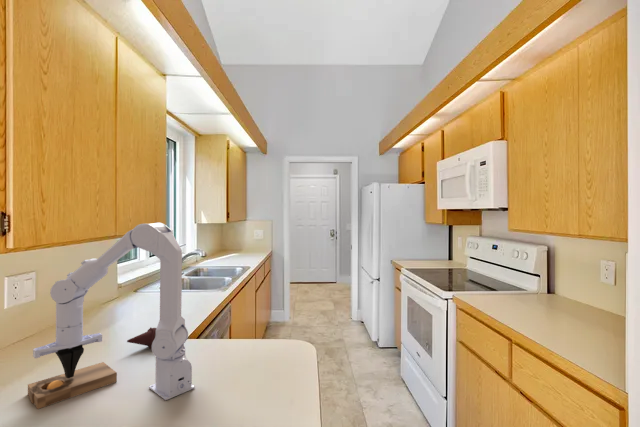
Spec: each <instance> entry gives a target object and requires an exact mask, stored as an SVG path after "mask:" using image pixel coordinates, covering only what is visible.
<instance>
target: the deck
mask: <svg viewBox="0 0 640 427" xmlns="http://www.w3.org/2000/svg"><path fill="white" fill-rule="evenodd" d="M117 373H118V372H117V371H116V370H114V368H111V367H110V366H109V365H108V364H107V363H105V362H104V361H101V362H99V363H95V364H92V365H89V366H85V367H82V368H77V369H75V372H74V376H73V377H70V378H66V376H65V373H62V374H58V375H55V376H51V377H48V378H45V379H42V380H38V381H36V382H35V381H34V382H32V383H28V384H27V396H29V402H31V404H32V405H34V406H35V408H36V409H37V410H39V409H43V408H45V407H48V406H51V405H53V404H56V403H57V404H58V403H60V402H62V401H65V400H68V399H71V398H73V397H74V398H75V397H76V396H77V397H78V396H79V395H82V394H85V393H88V392H91V391H94V390H98V389H99V388H102V387H105V386H108V385H111V384H115V383H116V382H117V381H118V377H117V376H118V374H117ZM56 380H59V381H62V382H63V384H62V385H61V386H60V387H57V388H54V389H49V390H47V387H48V385H49V384H50V383H51V382H53V381H56Z"/></svg>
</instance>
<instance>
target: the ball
mask: <svg viewBox="0 0 640 427" xmlns="http://www.w3.org/2000/svg"><path fill="white" fill-rule="evenodd" d="M62 384H63V382H62V381H59V380H56V381H53V382H51V383H50V384H49V385H48V387H47V390H49V389H54V388H57V387H60V386H61V385H62Z"/></svg>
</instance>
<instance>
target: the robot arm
mask: <svg viewBox="0 0 640 427" xmlns="http://www.w3.org/2000/svg"><path fill="white" fill-rule="evenodd" d="M173 231H174V230H173V229H171V228H170V227H169V226H167V225H166V224H165V223H162V222H157V221H156V222H154V223H153V222H152V223H140V224H136V226H135V227H134V228H133V229H130V230H128V231H127V232H125V234H124V235H123V236H122V237H121V238H120V239H118V241H116V242H115V243H114V244H113V245H112V246H111V247H110V248H108V249H107V250H106V251H105V252H104V253H102V254H101V255H100V256H99V257H98V258H95V257H93V258H89V259H84V260H82V262H81V263H80V264H81V266H79V267H78V268H77V269H75V270H74V271H72V272H69V273H67V275H66V276H67V277H66V278H65V279H60V280H57V281H55V283H54V284H53V285H52V286H51V288H50V294H49V295H50V297H51V299H52V300H53V301H54V302H55V341H54V342H51V343H47V344H45V345H42V346H39V347H35V348H33V349H32V357H33V358H34V359H39V358H41V357H43V356H47V355H50V354H54V353H55V355H56V356H57V358H58V359H59V361H60V363H61V365H62V368H63V372H64V374H65V376H66V378H70V377H73V376H74V372H75V370H77V369H76V368H77V365H78V363H79V361H80V358H81V357H82V355H83V354H84V351H85V348H84V347H83V346H86V345H90V344H94V343H102V342H103V334H102V333H101V332H98V333H93V334H86V335H84V302H85V296H86V295H87V294H88V292H89V289H90V288H92V287H93V286H94V285H95V284H97V283H98V282H100V281H101V280H102V279H103V278H104V277H105V276H107V274H108V272H109V267H111V266H112V265H113V264H114V263H115V262H117V261H119V259H121V258H123V257H124V256H125V255H127V254H128V253H129V252H130V251H132V250H134V249H141V250H143V251H146V252H149V253H151V254H153V255H154V256H155V257H157V259H159V260H160V261H159V262H160V264H159V266H160V268H159V270H160V273H159V274H160V276H159V320H158V323H157V326H156V328H157V329H156V336H155V339H154V341H153V343H152V348H151V352H152V354H153V355H154V356H155V383H153V384H150V385H149V386H148V388H149V389H150V390H151V391H153V392H154V393H155V394H157V395H158V396H159V397H161V398H162V399H163V400H164V401H167V400H168V401H169V400H170V399H172V398H174V397H177V396H179V395H182V394H184V393H186V392H188V391H191V390H194V389H195V387H196V386H195V385H193V383H192V381H193V380H192V379H193V377H192V376H193V375H192V374H193V371H192V370H193V367H192V363H191V361H190V360H188V358H187V355H186V347H185V344H186V342H187V340H188V337H189V331H188V329H187V327H186V324H185V323H186V320H185V318H184V317H183V316H182V296H183V294H182V292H183V291H182V290H183V288H182V286H183V285H182V282H183V276H182V275H183V272H182V271H183V250H182V248H181V246H180V244H179V242H178V240H177V239H176V237H175V236H174V232H173Z"/></svg>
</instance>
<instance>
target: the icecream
mask: <svg viewBox="0 0 640 427" xmlns="http://www.w3.org/2000/svg"><path fill="white" fill-rule="evenodd" d="M156 329H157V327H150V328H149V329H147V331H146V332H143V333H141V334H138V335H136V336H134V337H132V338H129V339H127V341H126V343H130V344H136V345H139V346H140V345H141V346H147V348H149V349H150V350H152V343H153V341H154V339H155V336H156Z"/></svg>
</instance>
